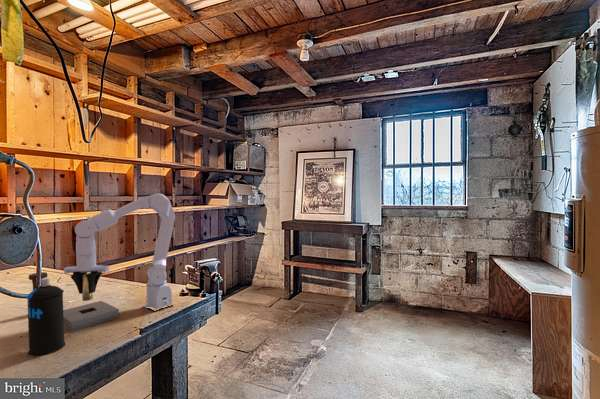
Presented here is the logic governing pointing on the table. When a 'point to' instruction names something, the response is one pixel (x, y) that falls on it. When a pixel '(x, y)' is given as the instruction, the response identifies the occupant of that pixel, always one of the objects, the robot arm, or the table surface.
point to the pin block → (89, 315)
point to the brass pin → (86, 289)
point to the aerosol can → (45, 319)
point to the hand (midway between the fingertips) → (87, 292)
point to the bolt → (34, 276)
